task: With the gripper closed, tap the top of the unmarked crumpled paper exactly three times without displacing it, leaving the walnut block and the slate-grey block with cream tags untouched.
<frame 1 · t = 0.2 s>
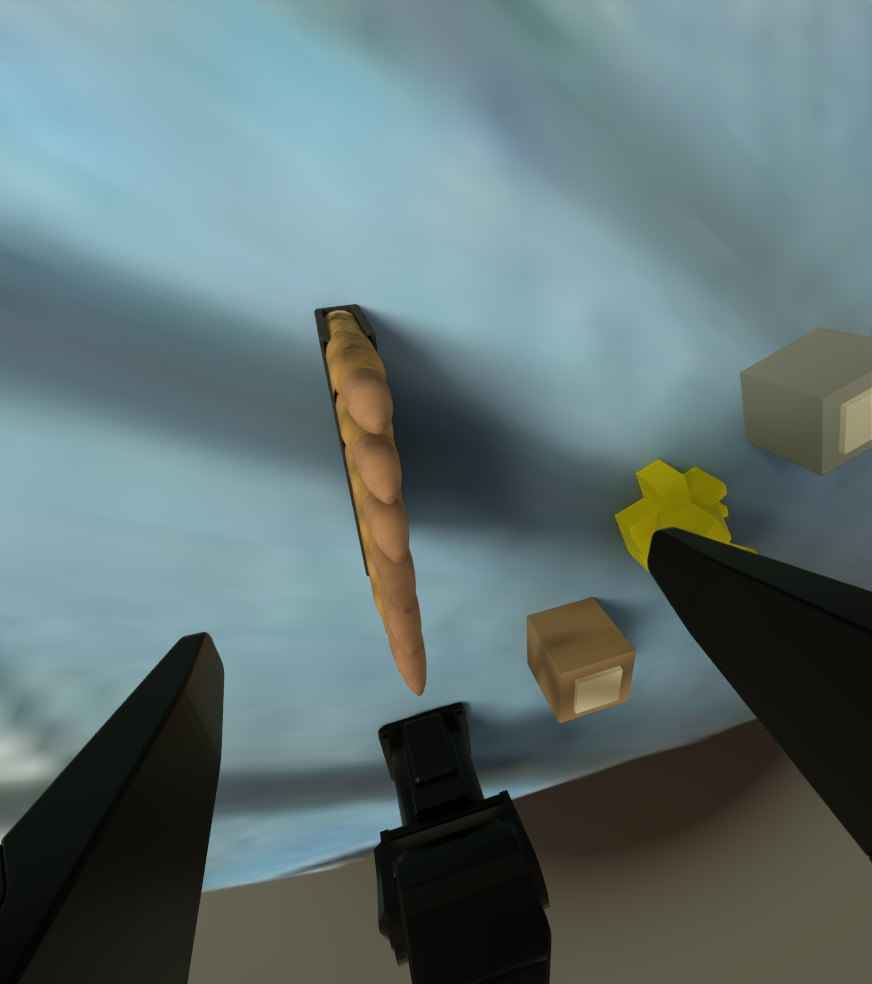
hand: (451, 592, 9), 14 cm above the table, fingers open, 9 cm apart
crumpled paper: (657, 508, 30), on the table
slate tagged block: (779, 387, 28), on the table
ammunition clip: (356, 423, 22), on the table
walnut tagged block: (558, 630, 33), on the table
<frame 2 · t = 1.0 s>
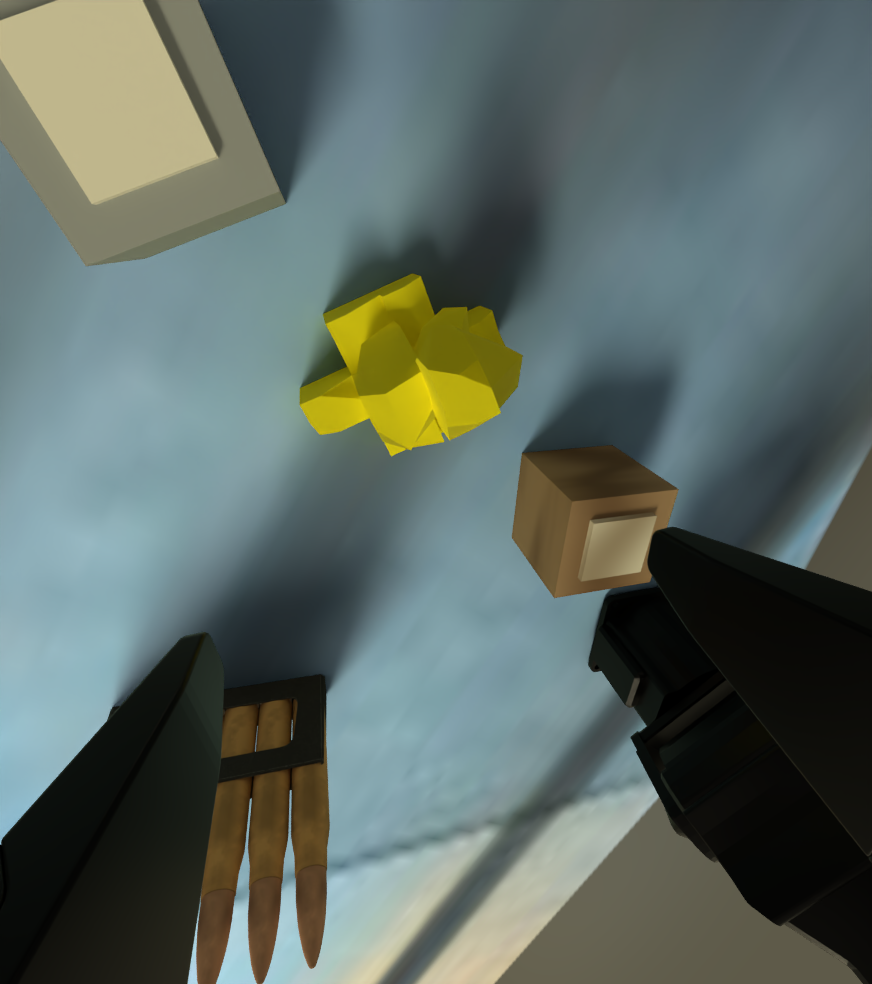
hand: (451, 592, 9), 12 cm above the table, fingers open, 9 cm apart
crumpled paper: (396, 363, 19), on the table
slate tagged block: (170, 142, 14), on the table
ammunition clip: (226, 697, 26), on the table
walnut tagged block: (559, 491, 24), on the table
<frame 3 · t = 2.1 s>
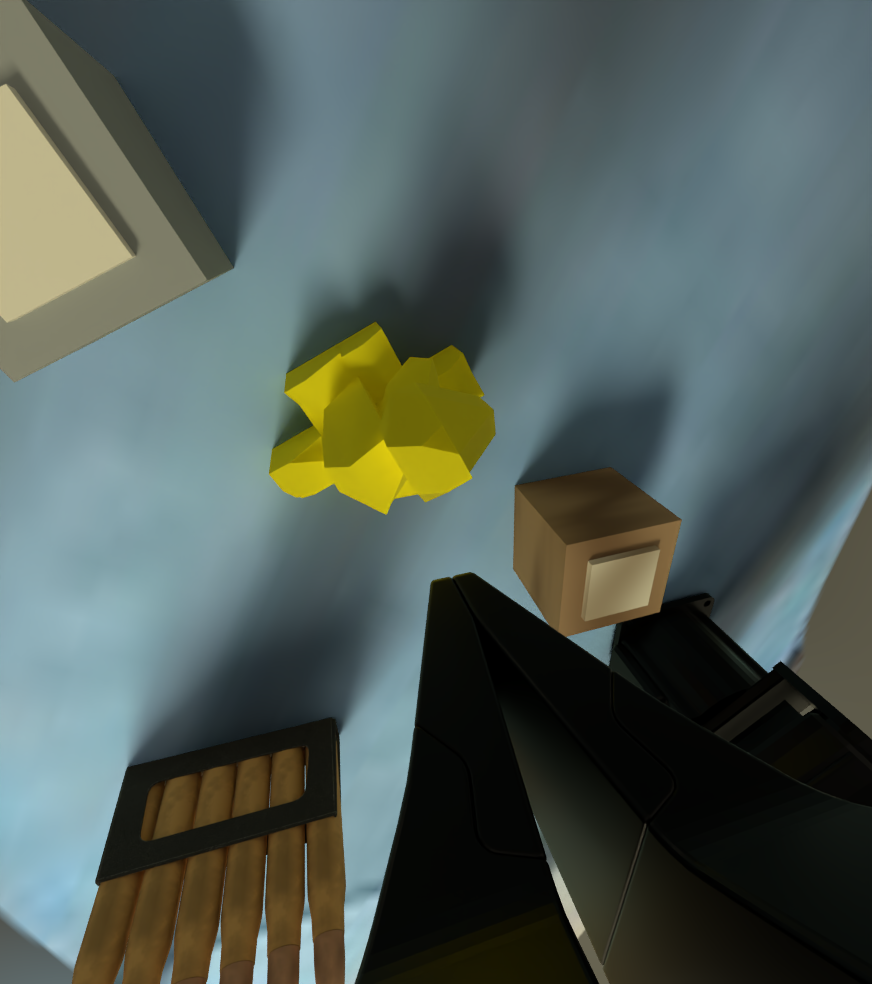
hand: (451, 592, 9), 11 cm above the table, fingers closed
crumpled paper: (370, 411, 18), on the table
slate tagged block: (104, 221, 13), on the table
ammunition clip: (239, 747, 25), on the table
walnut tagged block: (559, 518, 23), on the table
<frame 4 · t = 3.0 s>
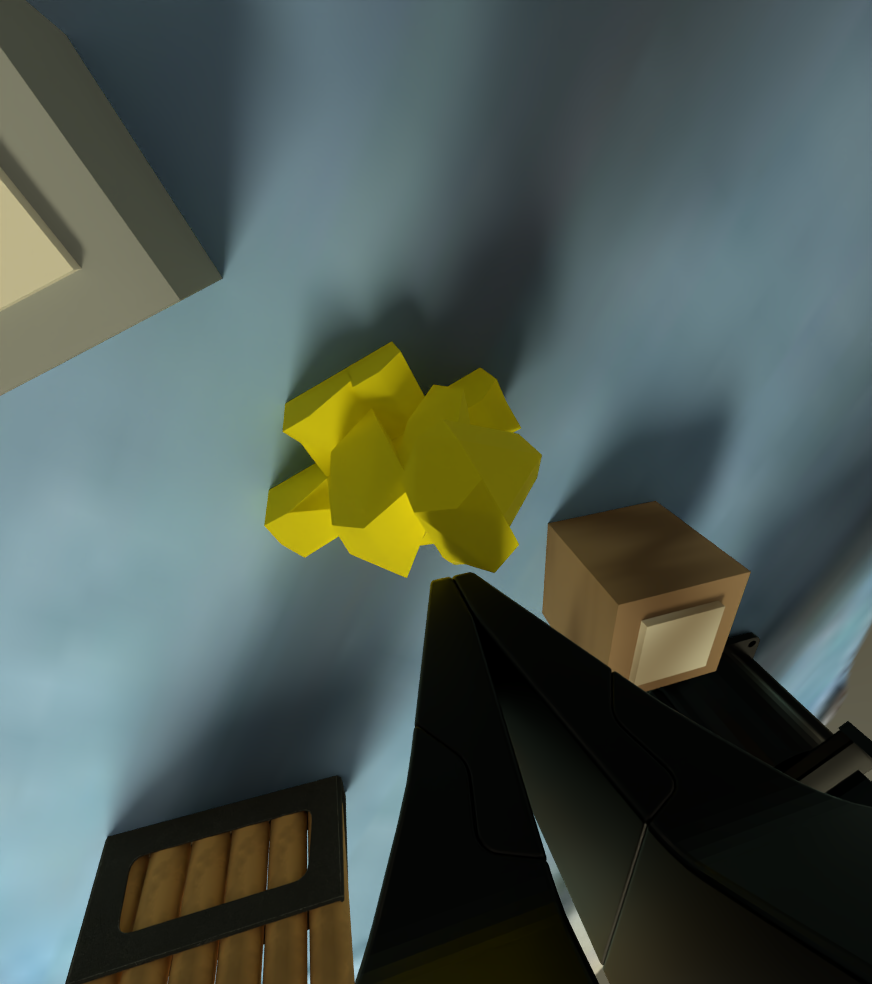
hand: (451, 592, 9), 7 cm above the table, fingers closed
crumpled paper: (384, 444, 16), on the table
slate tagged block: (60, 221, 11), on the table
ammunition clip: (234, 809, 23), on the table
walnut tagged block: (595, 558, 21), on the table
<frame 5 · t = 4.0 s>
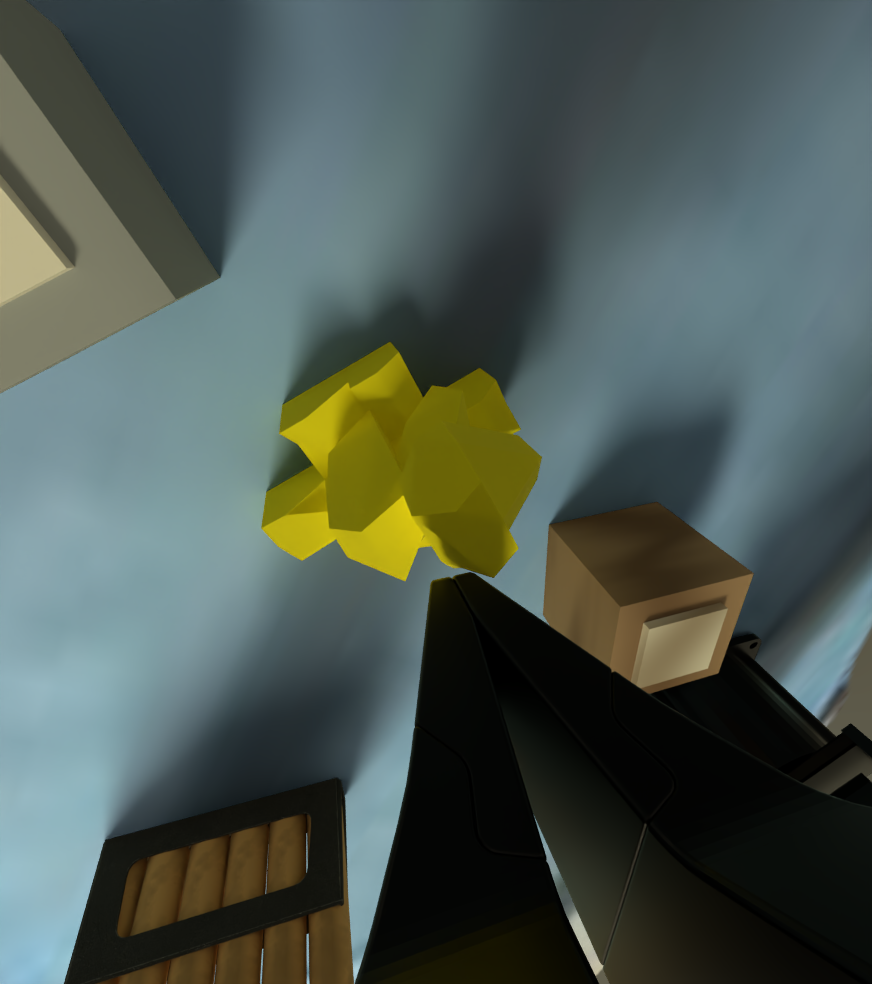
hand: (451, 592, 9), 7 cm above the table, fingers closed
crumpled paper: (383, 445, 16), on the table
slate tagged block: (55, 220, 11), on the table
ammunition clip: (233, 812, 23), on the table
walnut tagged block: (597, 559, 20), on the table
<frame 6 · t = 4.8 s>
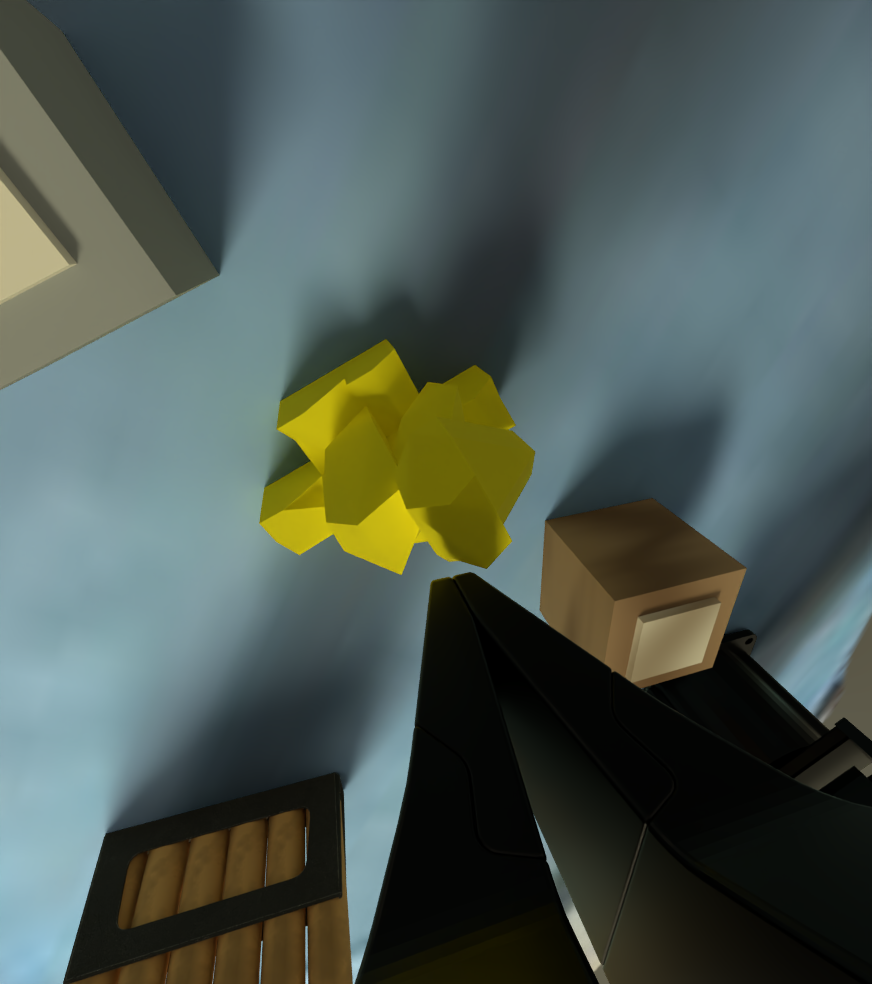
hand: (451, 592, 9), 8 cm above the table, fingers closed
crumpled paper: (379, 442, 16), on the table
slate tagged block: (56, 218, 11), on the table
ammunition clip: (232, 806, 23), on the table
walnut tagged block: (593, 555, 21), on the table
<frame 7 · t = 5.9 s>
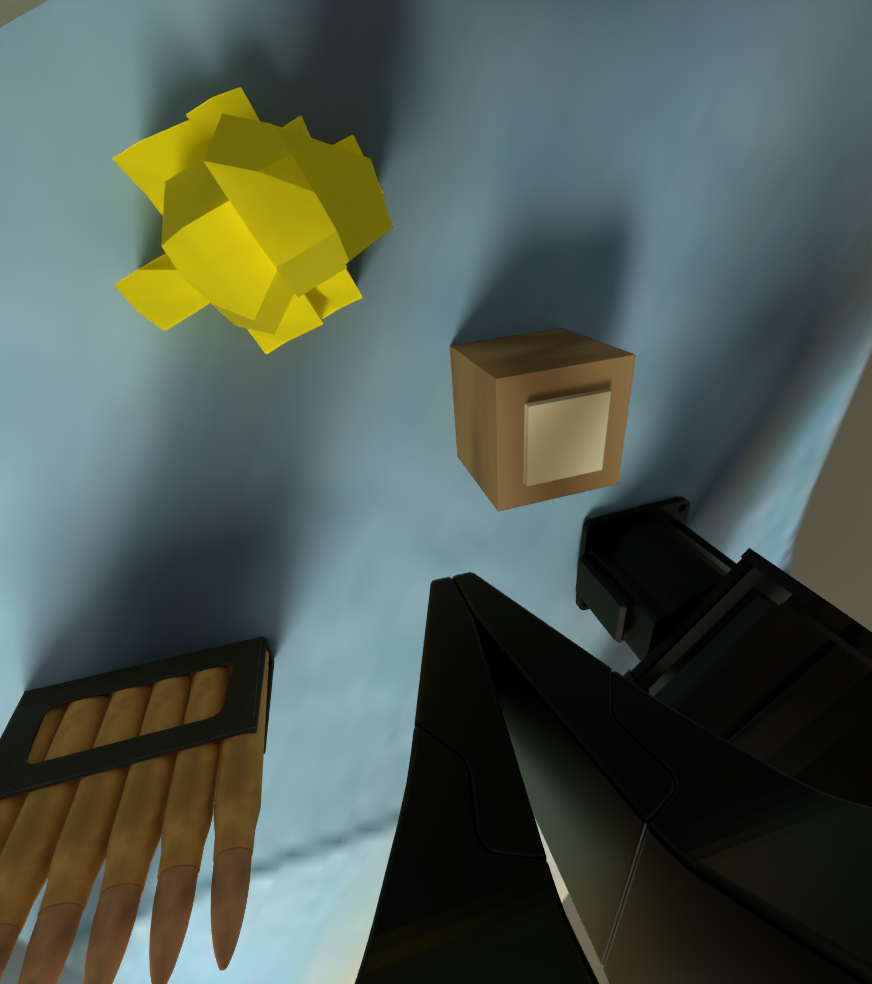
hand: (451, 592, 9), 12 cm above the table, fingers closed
crumpled paper: (258, 236, 15), on the table
ammunition clip: (158, 671, 23), on the table
walnut tagged block: (507, 394, 20), on the table
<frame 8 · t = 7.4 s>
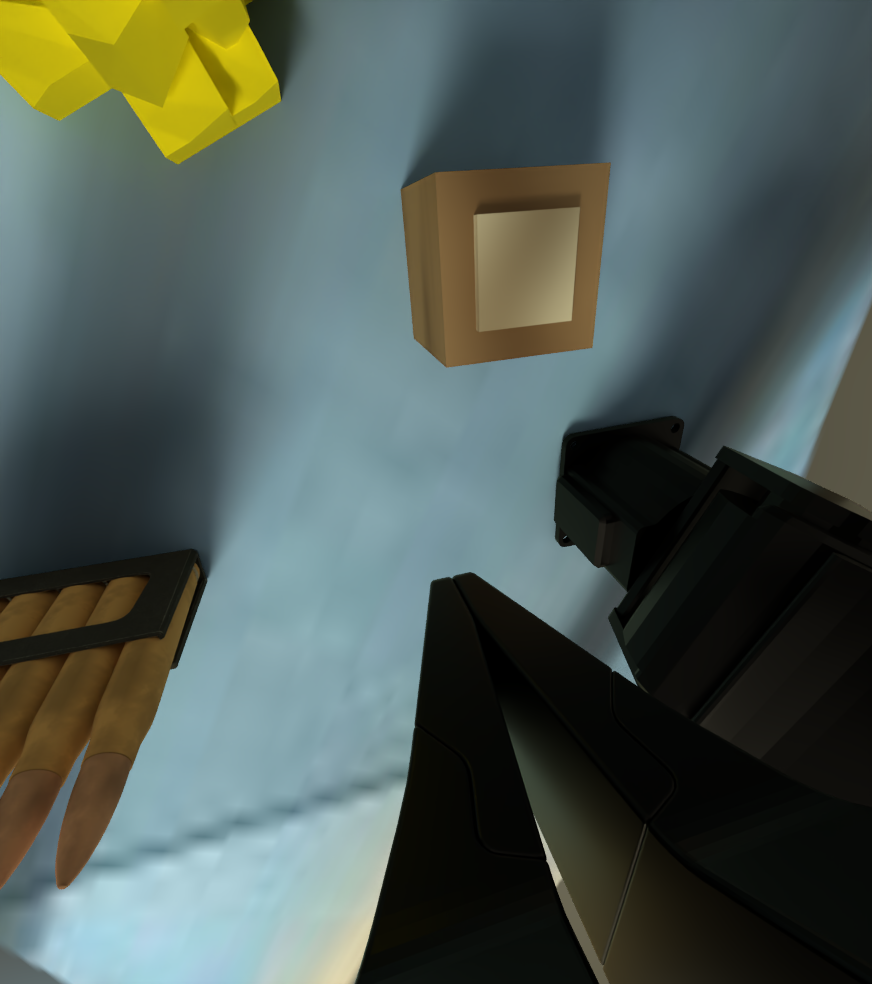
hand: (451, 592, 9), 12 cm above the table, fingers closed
crumpled paper: (159, 15, 13), on the table
ammunition clip: (72, 583, 20), on the table
walnut tagged block: (470, 263, 18), on the table
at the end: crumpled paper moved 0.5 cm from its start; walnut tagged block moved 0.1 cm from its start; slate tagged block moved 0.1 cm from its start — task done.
